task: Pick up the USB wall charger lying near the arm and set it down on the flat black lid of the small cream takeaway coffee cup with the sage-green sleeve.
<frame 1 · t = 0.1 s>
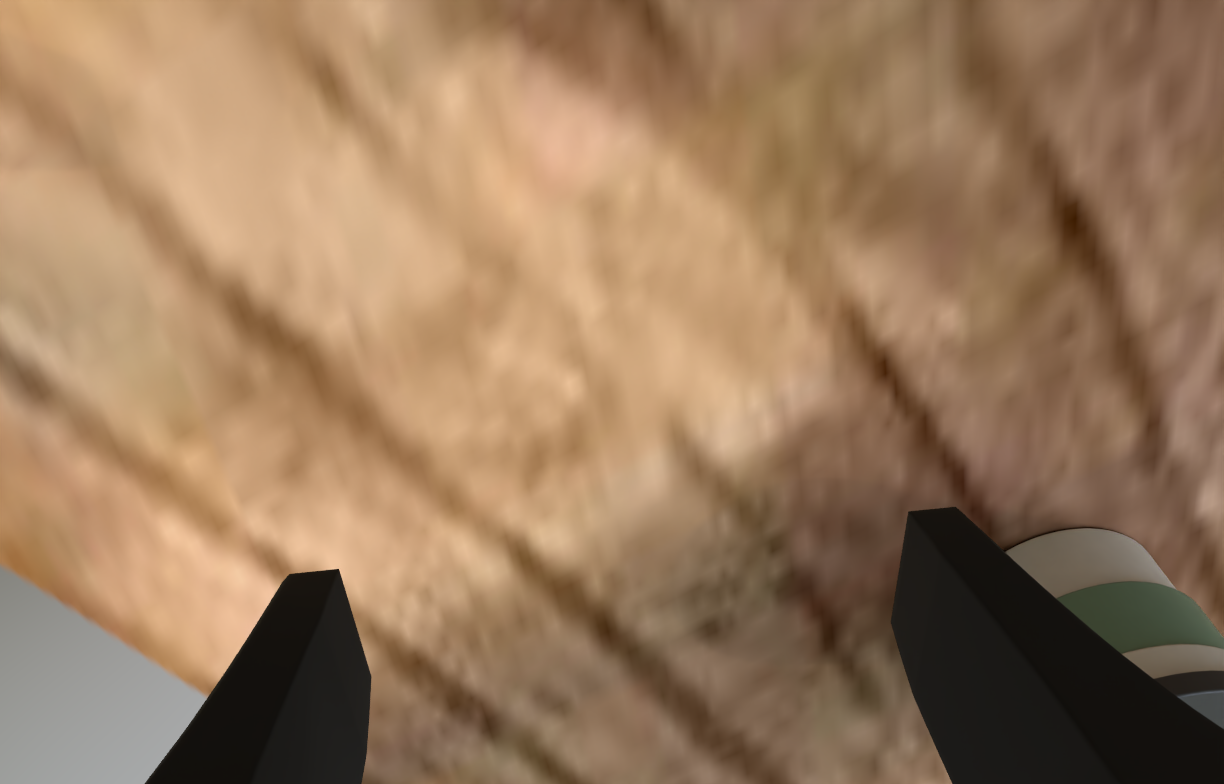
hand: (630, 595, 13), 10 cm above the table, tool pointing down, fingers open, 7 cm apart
coffee cup: (1051, 603, 29), on the table
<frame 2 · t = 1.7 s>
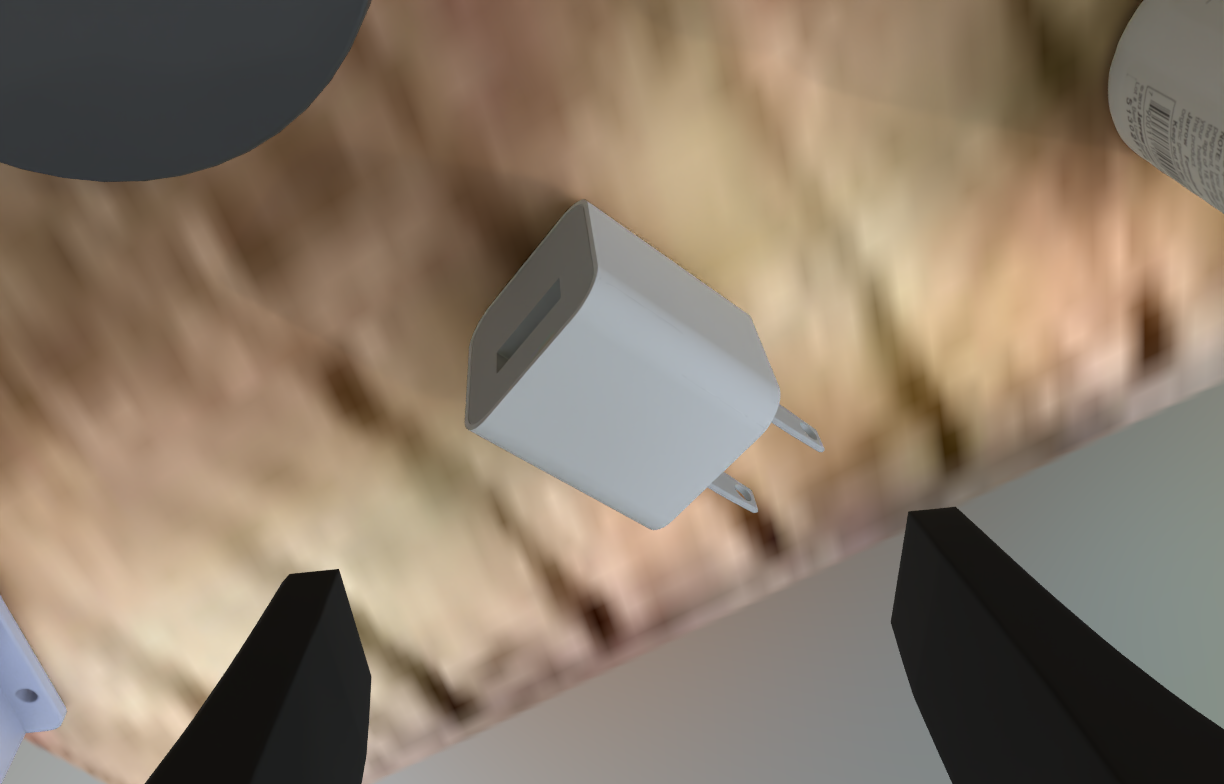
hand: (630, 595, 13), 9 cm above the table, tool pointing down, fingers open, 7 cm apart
usb wall charger: (652, 340, 22), on the table
pill bottle: (1209, 49, 19), on the table
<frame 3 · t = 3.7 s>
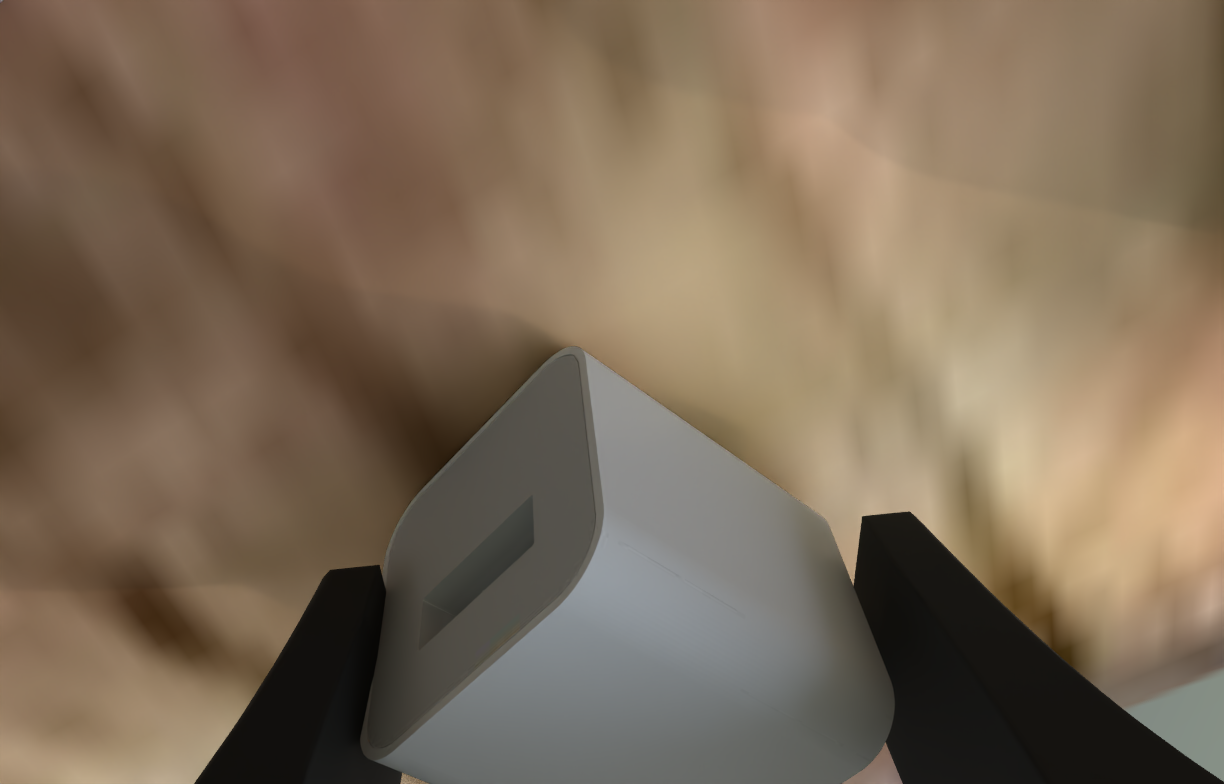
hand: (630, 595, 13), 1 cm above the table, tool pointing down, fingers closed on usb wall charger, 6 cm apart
usb wall charger: (670, 537, 14), on the table, touching gripper
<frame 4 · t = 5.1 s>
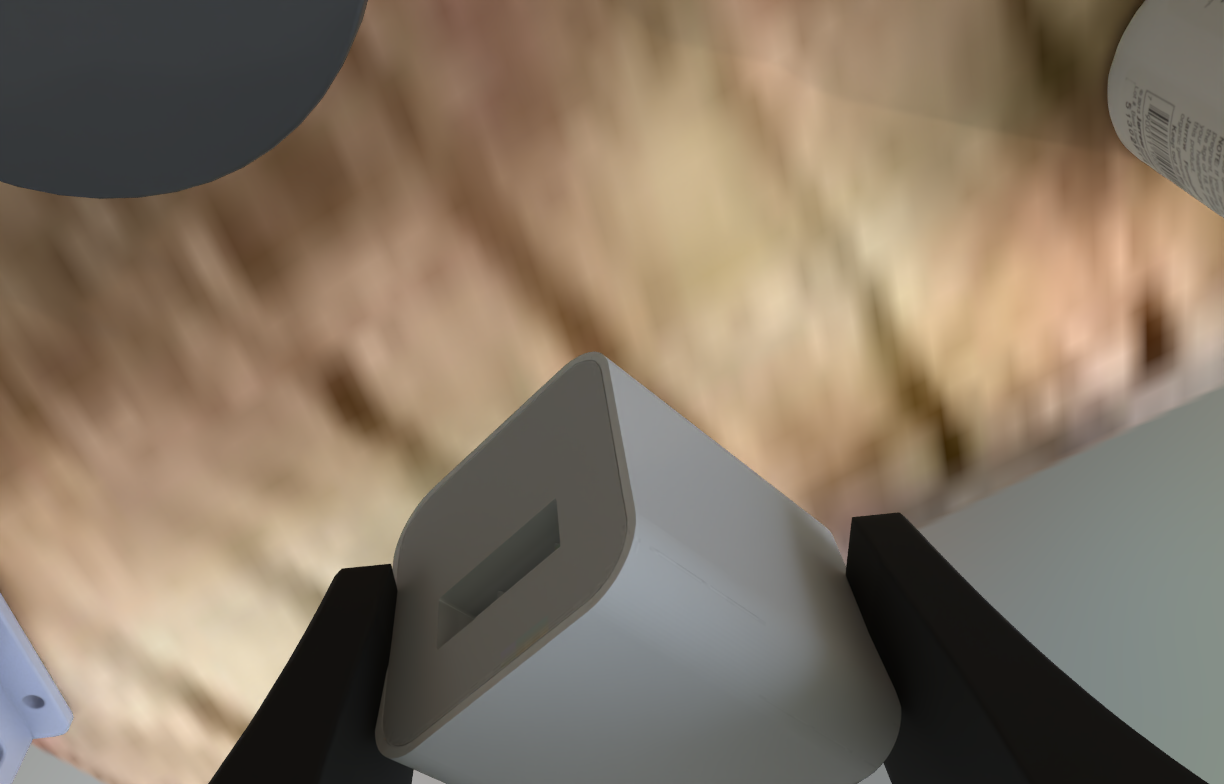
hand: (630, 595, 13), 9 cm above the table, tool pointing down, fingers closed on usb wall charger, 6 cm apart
usb wall charger: (673, 543, 14), point 8 cm above the table, touching gripper
pill bottle: (1209, 52, 19), on the table
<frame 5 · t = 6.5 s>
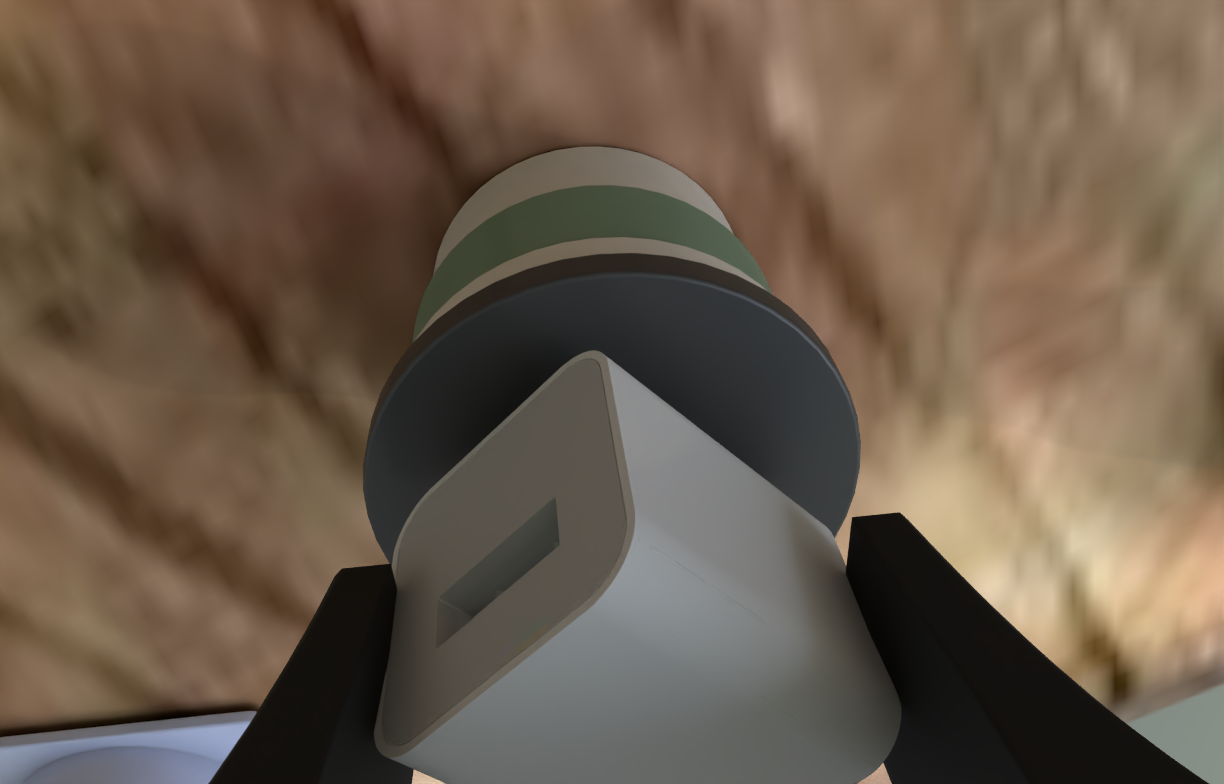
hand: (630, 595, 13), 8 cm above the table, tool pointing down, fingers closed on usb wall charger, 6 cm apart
coffee cup: (588, 293, 19), on the table
usb wall charger: (673, 543, 14), point 6 cm above the table, touching gripper
when the fingers open (7 cm above the table, at t = 7.2 s): usb wall charger stays where it is, resting on coffee cup.
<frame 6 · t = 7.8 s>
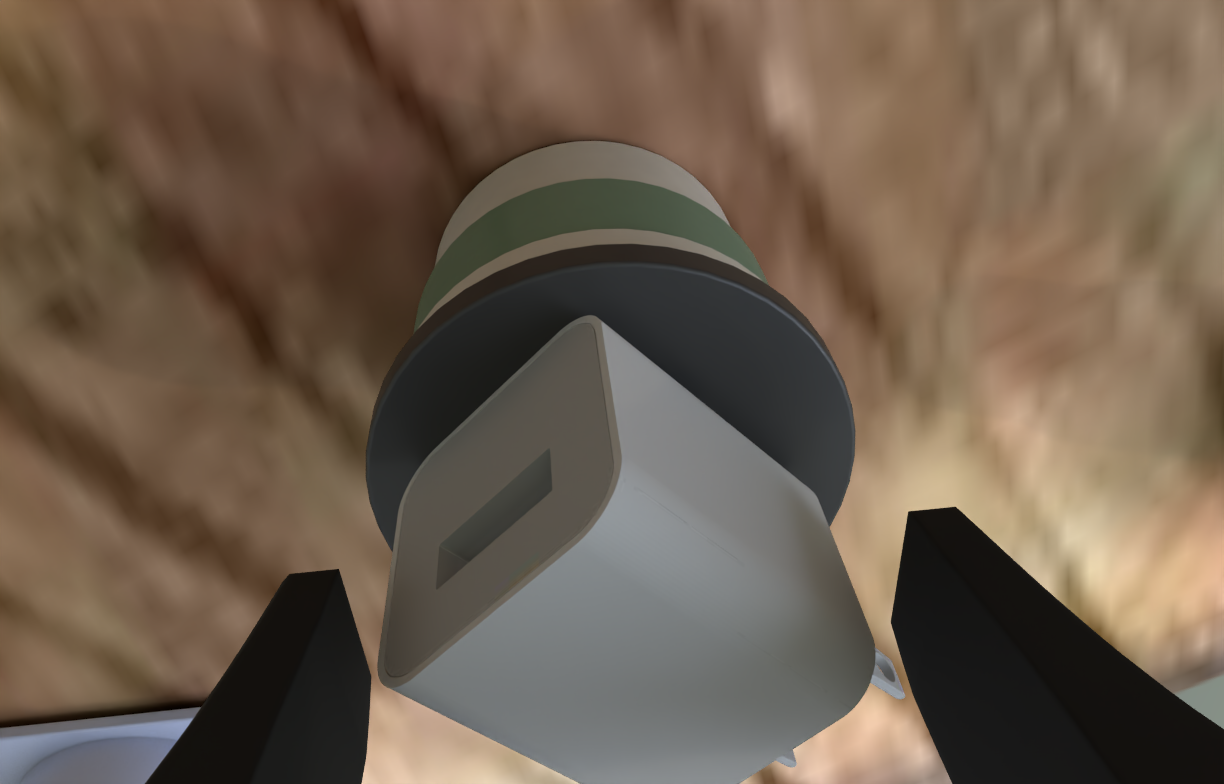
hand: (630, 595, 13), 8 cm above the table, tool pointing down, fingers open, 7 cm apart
coffee cup: (588, 286, 19), on the table, touching usb wall charger
usb wall charger: (666, 506, 15), point 6 cm above the table, touching coffee cup
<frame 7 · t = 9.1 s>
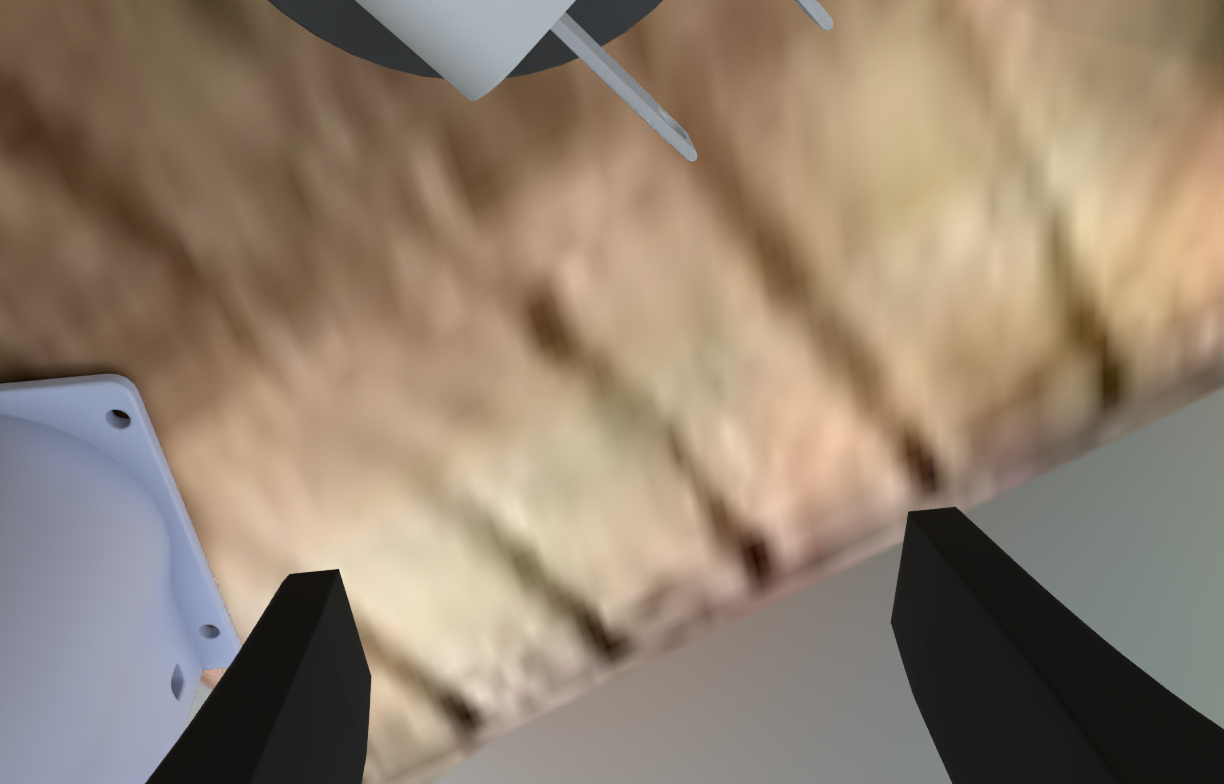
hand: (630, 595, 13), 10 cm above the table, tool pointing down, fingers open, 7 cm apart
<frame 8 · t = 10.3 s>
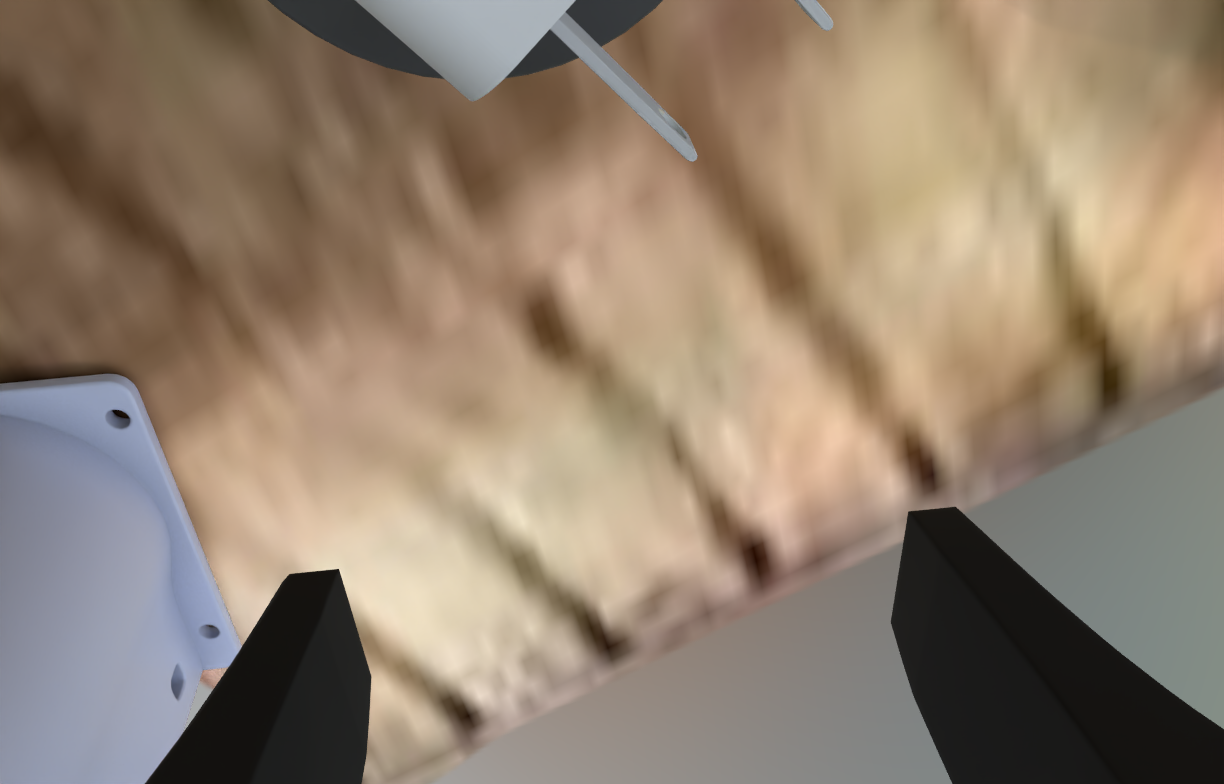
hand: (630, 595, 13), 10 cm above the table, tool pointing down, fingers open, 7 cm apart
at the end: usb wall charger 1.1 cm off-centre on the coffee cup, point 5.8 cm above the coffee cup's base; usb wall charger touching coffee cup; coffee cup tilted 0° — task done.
